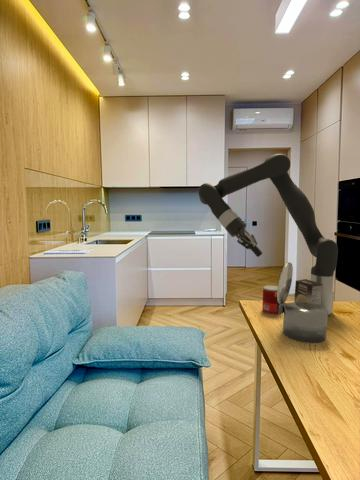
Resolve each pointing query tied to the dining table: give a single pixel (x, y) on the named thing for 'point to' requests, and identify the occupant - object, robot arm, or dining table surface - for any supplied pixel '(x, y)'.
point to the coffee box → (308, 292)
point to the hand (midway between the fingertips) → (260, 255)
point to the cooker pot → (304, 321)
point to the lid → (284, 283)
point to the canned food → (270, 300)
